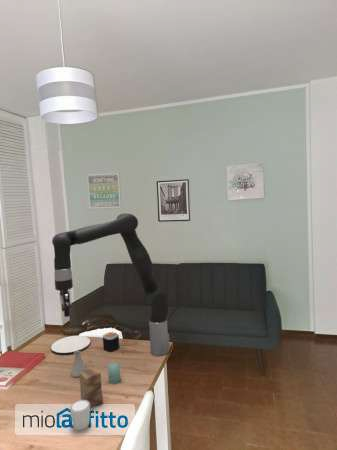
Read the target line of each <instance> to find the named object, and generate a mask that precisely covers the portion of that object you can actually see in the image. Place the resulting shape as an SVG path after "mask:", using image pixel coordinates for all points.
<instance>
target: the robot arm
mask: <svg viewBox="0 0 337 450" xmlns="http://www.w3.org/2000/svg"><path fill="white" fill-rule="evenodd" d="M138 226H139V220H138V218H137V217H136V215H134V214H132V213H125V212H124V213H120V214H119V215H117V217H116V218H115V220H111V221H107V222H104V223H98V224H97V223H96V224H91V225H87V226H83V227H80V228H77V229H74V230H70V231H63V232H59V233H57V234H55V235H54V236H53V237H52V241H51V242H52V246H53V249H54V250H53V251H54V257H53V258H54V259H53V263H54V265H53V266H54V273H53V274H54V288H55V290H56V291H59V301H60V304H61V310H62V311H61V312H64V313H63V314H64V317H65V318H68V317H70V316H71V314H70V313H71V311H70V308H71V297H70V296H71V294H70V292H69V290H71V289H73V288H74V283H73V271H72V262H71V261H72V260H71V247H72V246H75V245H83V244H86V243H89V242H93V241H95V240H99V239H102V238H105V237H108V236H113V235H117V234H118V235H119V234H120V236H121V238H122V240H123V242H124V244H125V247H126V250H127V252H128V253H127V254H128V255H129V258H130V261H131V263H132V266H133V268H134V271H135V272H136V274H137V275H136V276H137V277H138V279H139V281H140V283H141V286H142V289H143V292H144V295H145V298H146V301H147V303H148V304H149V305H150V306H151V307H150V308H151V309H150V310H151V313H149V316H148V320H149V321H148V324H149V326H148V327H149V343H150V344H149V346H150V354H151V355H153V356H155V357H156V356H157V357H162V356H165V355H167V354H168V353H170V352H171V350H170V349H171V347H170V346H171V344H170V334H169V333H168V315H169V298H168V294H167V293H166V292H165V291H163V290H162V289H160V287H159V285H158V283H157V282H156V279H155V276H154V267H153V262H152V260H151V259H152V258H151V256H150V254H149V252H148V250H147V249H146V247H145V246H144V244H143V243H142V241H141V240H140V238H139V236H138V234H137V231H136V230H137V228H138Z"/></svg>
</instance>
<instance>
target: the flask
mask: <svg viewBox="0 0 337 450" xmlns="http://www.w3.org/2000/svg"><path fill="white" fill-rule="evenodd" d="M81 354H82V350H79V351H76V352H73V355H74V361H73V366H72V369H71V373H70V377H73V378H80V372H83V371H85V370H87V367H86V366H85V363H84V362H83V359H82V355H81Z"/></svg>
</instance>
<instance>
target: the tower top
mask: <svg viewBox="0 0 337 450" xmlns="http://www.w3.org/2000/svg"><path fill="white" fill-rule="evenodd" d="M86 369H87V368H86ZM79 386H80V387H81V388H82V389H83V390H84V391H85V392H86V393H87V394H88V393H91V392H93V391H95V390H97V389H99V388H101V389H102V373H101V372H100V371H99V370H98V369H96V368H95V367H94V366H92V367H90V368H88V369H87V370H85V371H83V372H80V377H79Z"/></svg>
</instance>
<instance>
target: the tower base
mask: <svg viewBox="0 0 337 450" xmlns="http://www.w3.org/2000/svg"><path fill="white" fill-rule="evenodd" d="M80 400H87V401H89V402H90V409H92V408H94V407H95V408H96V407H97V406H98V407H99V406H100V405H103V389H102V387H101V388H99V389H97V390H95V391H93V392H91V393H88V394H87V393H86V392H85V391H84V390H83V389H82V388H81V387H80Z"/></svg>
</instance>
